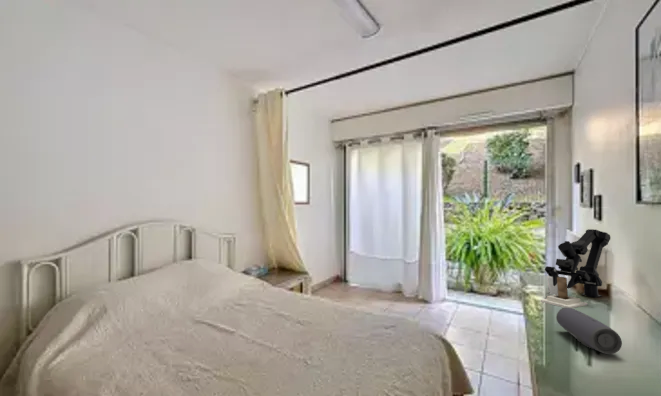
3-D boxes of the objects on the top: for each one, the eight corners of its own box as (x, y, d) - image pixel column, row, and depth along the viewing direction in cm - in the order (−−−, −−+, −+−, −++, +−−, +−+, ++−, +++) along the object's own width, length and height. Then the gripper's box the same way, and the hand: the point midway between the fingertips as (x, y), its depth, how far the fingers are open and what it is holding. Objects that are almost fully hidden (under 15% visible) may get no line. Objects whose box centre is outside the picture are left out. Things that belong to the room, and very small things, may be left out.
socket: (558, 298, 166) (557, 292, 166) (587, 305, 153) (587, 298, 153) (540, 301, 161) (540, 295, 161) (569, 308, 148) (569, 302, 148)
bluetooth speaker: (625, 359, 97) (623, 327, 98) (592, 357, 99) (589, 326, 100) (582, 332, 120) (580, 306, 120) (555, 331, 122) (554, 305, 122)
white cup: (545, 294, 175) (544, 276, 175) (553, 292, 178) (552, 274, 179) (560, 297, 168) (559, 278, 168) (568, 295, 171) (567, 277, 172)
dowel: (564, 302, 159) (562, 276, 159) (570, 304, 155) (568, 278, 155) (556, 302, 159) (555, 277, 160) (562, 304, 155) (560, 278, 156)
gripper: (545, 251, 168) (534, 273, 163) (585, 254, 151) (574, 280, 146) (554, 264, 171) (544, 286, 166) (594, 269, 154) (584, 294, 149)
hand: (560, 286), depth 157 cm, fingers open, 6 cm apart
